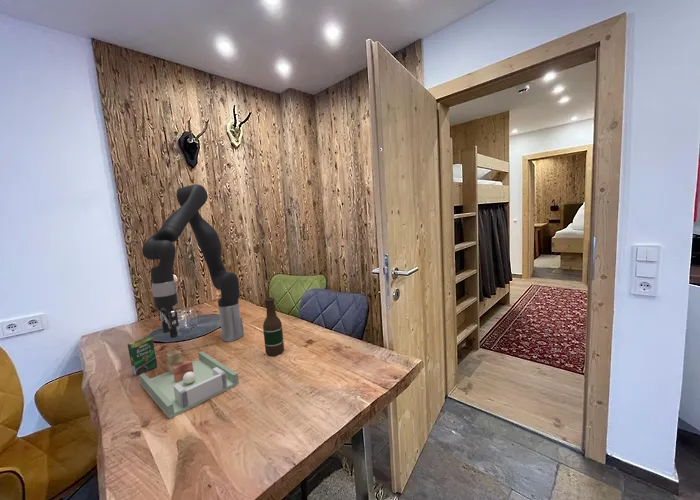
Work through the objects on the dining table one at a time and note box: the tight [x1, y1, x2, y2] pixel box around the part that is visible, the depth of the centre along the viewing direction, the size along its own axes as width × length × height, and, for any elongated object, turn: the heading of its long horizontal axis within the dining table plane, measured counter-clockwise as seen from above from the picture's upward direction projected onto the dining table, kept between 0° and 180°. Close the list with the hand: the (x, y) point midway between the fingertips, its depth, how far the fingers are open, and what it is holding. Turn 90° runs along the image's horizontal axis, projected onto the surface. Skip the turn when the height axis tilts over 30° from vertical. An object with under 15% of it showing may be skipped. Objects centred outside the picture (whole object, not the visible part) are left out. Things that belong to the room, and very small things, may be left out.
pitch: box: [139, 350, 240, 420], centre depth 104 cm, size 22×30×4 cm
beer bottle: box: [262, 297, 285, 357], centre depth 124 cm, size 8×8×24 cm
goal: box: [173, 367, 228, 409], centre depth 97 cm, size 14×7×5 cm, turn 139°
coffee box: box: [127, 335, 158, 377], centre depth 116 cm, size 8×3×13 cm, turn 150°
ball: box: [183, 372, 196, 384], centre depth 104 cm, size 4×4×4 cm
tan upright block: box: [165, 349, 193, 382], centre depth 110 cm, size 6×12×7 cm, turn 49°
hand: (170, 334), depth 111 cm, fingers open, 8 cm apart
